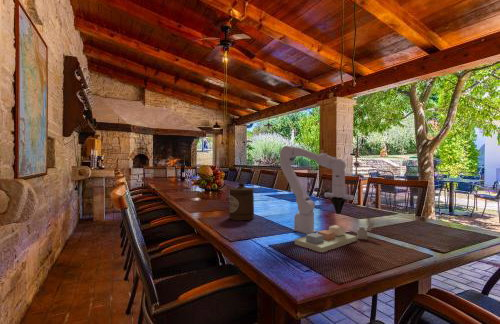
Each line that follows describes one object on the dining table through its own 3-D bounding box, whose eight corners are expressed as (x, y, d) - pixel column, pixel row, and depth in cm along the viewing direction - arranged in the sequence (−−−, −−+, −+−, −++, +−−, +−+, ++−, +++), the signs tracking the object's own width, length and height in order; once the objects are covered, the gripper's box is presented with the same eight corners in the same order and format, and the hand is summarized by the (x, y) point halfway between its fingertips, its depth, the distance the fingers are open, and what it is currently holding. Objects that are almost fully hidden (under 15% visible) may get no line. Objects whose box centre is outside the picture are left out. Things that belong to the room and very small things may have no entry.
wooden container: (226, 216, 174) (226, 181, 173) (249, 215, 178) (249, 180, 178) (232, 221, 160) (232, 183, 159) (257, 220, 164) (257, 182, 164)
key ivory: (328, 233, 127) (328, 226, 127) (335, 231, 130) (335, 225, 130) (338, 235, 123) (338, 228, 123) (344, 233, 126) (344, 227, 126)
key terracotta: (317, 238, 122) (317, 231, 122) (324, 236, 125) (324, 229, 125) (327, 241, 118) (327, 234, 118) (334, 239, 121) (334, 232, 121)
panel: (294, 244, 119) (294, 239, 119) (329, 234, 135) (329, 229, 135) (321, 252, 108) (321, 247, 108) (356, 240, 124) (356, 236, 124)
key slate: (306, 241, 117) (306, 234, 117) (313, 239, 120) (313, 232, 120) (315, 244, 113) (315, 237, 113) (323, 242, 116) (323, 235, 116)
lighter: (357, 238, 127) (357, 221, 127) (357, 237, 129) (357, 220, 128) (374, 240, 125) (374, 222, 125) (373, 238, 127) (373, 221, 127)
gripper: (320, 184, 135) (320, 212, 135) (347, 186, 124) (347, 217, 124) (329, 183, 139) (329, 210, 140) (356, 185, 128) (356, 215, 128)
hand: (338, 213), depth 132 cm, fingers closed
